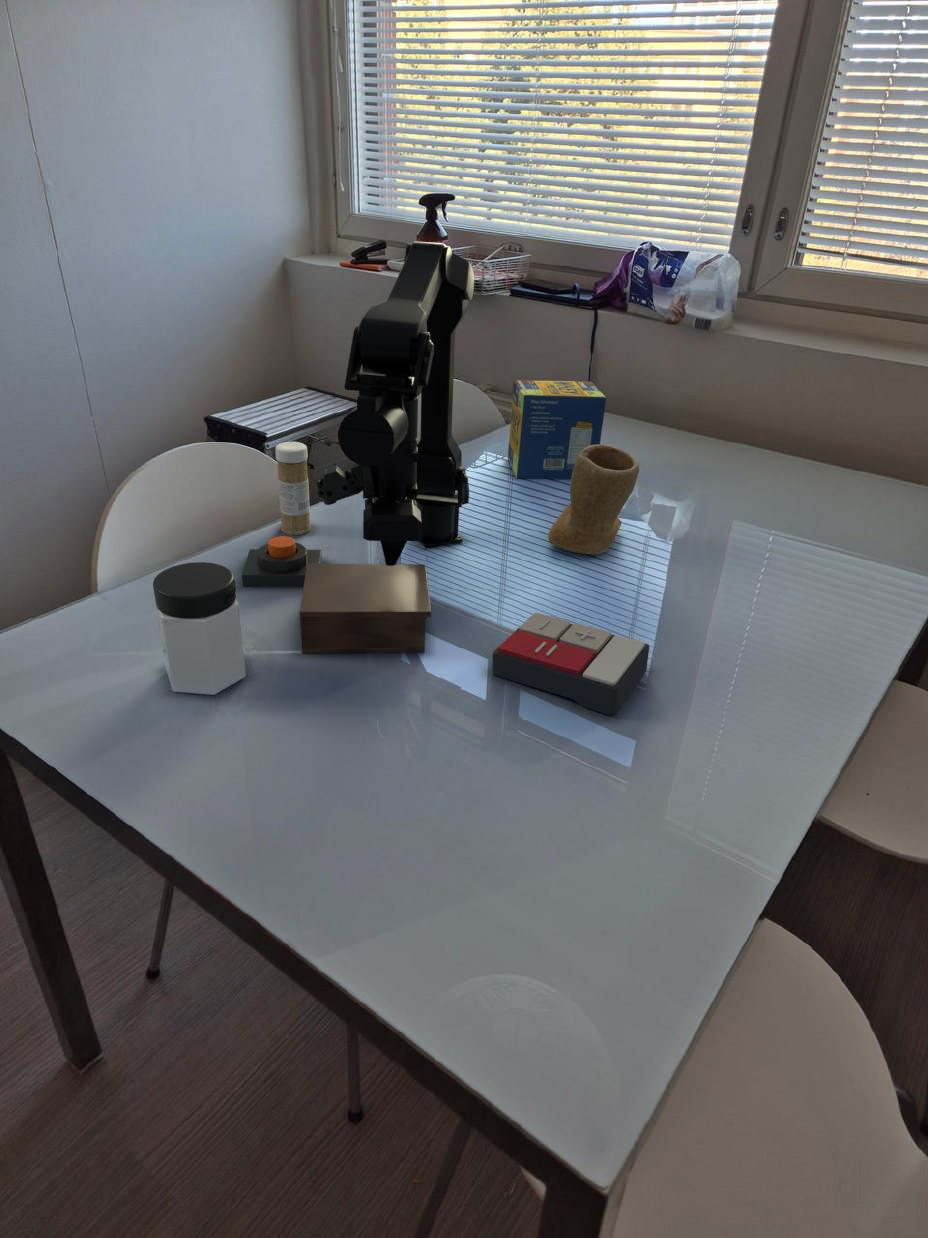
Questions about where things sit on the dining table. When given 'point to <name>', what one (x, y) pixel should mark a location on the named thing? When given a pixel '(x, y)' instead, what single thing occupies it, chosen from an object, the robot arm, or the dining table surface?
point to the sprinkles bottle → (293, 487)
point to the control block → (278, 567)
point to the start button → (281, 547)
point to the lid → (365, 591)
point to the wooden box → (362, 634)
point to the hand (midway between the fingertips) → (390, 564)
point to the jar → (199, 627)
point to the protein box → (553, 426)
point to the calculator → (573, 661)
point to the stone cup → (595, 500)
